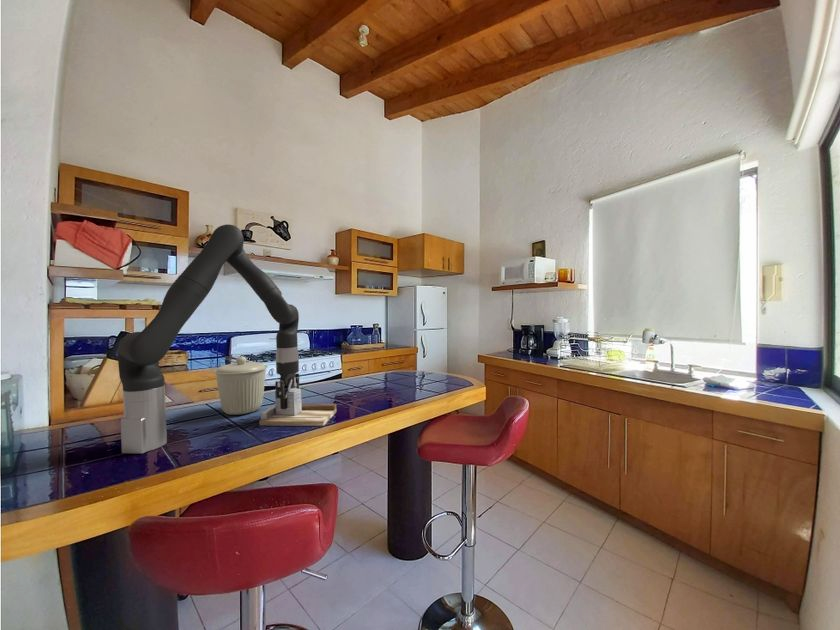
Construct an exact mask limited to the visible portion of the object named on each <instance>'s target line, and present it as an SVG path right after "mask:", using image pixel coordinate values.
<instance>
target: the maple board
mask: <svg viewBox="0 0 840 630" xmlns="http://www.w3.org/2000/svg"><path fill="white" fill-rule="evenodd" d="M336 413H337V408H336V409H335V410H302V412H300V413H299V414H297V415H295V416H294V415H280V414H275V415H273V416H272V417H270V418H269V419H267V420H261V419H260V420H259V421H258V422H259V426H263V427H264V426H267V427H268V426H269V427H270V426H275V427H276V426H277V427H278V426H280V427H281V426H283V427H284V426H285V427H286V426H287V427H288V426H289V427H290V426H292V427H294V426H296V427H299V426H300V427H301V426H304V427H305V426H306V427H307V426H309V427H314V426H315V427H324V426H325V425H326V424H327V423H328V422H329V421H330V419H331V418H333V416H334V415H335V414H336Z"/></svg>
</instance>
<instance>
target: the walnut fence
mask: <svg viewBox="0 0 840 630" xmlns="http://www.w3.org/2000/svg"><path fill="white" fill-rule="evenodd" d="M301 404H302V410H335V409H336V410H337V403H301Z"/></svg>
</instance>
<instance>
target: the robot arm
mask: <svg viewBox="0 0 840 630" xmlns="http://www.w3.org/2000/svg"><path fill="white" fill-rule="evenodd" d="M244 240H245V239H244V234H243V232H242V231H241V229H240V228H239V227H238V226H236V225H233V224H229V223H228V224H223V225H220V226H217V227H216V229H214V230H213V232H212V234H211V235H210V236H209V239H208V240H207V241H206V243H205V245H204V246H203V248H202V250H201V251H200V252H199V253H198V254H197V255H196V257H195V258H194V259H192V261H191V262H190V263H189V265H187V266H186V267H185V269H183V271H182V272H181V273H180V275H179V276H177V278H176V279H175V280H174V281H173V283H171V285H170V287H169V288H168V289H167V291H166V294H165V295H164V297H163V301H162V303H161V306H160V308H159V310H158V312H157V314H156V315H155V316H154V318H153V319H152V320H151V321H149V323H148V324H147V326H146V327H144V329H142V331H134V332H130V333H129V334H127V335H125V336H124V337H122V338H121V340H120V341H119V343H118V347H117V363H118V373H119V374H118V375H119V380H120V382H121V387H122V399H123V401H122V403H123V404H122V405H123V417H122V418H121V419H120V439H121V440H120V442H121V443H120V444H121V454H144V453H146V452H149V451H150V452H151V451H153V450H156V449H160V448H161V447H163V446H165V445H166V444H167V442H168V439H167V437H168V436H167V434H168V433H167V414H166V413H167V412H166V388H165V387H166V386H165V384H166V383H165V376H164V374H163V372H162V371H161V369H160V363H159V361H161V360H162V359H164V358H165V356H166V355H167V353H168V352H169V350H170V348H171V347H172V345H173V343H174V341H175V340H176V338H177V336H178V335H179V333H180V331H182V328H183V326H185V324H186V323H187V322H188V320H190V318H191V316H192V315H193V314H194V313H195V311H196V310H197V309H198V307H200V306H201V304H202V303H203V301H204V300H205V298H207V296H208V295H209V293H210V292H211V290H212V289H213V287H214V285H215V284H216V280H217V278H218V276H219V274H220V272H221V269H222V267H223V265H225V263H227V264H228V265H230V266H231V267H232V268H233V269H234V270H235V271H236V272H237V273H238V274H239V275H240V276H241V277H242V279H243V280H244V281H245V282H246V284H248V285H249V287H250V288H251V289H252V290H253V292H254V293H255V294H256V295H257V296H258V298H259V299H260V300H261V302H263V303H264V306H265V307H266V309H267V311H268V312H269V315H270V316H271V317H272V319H274V321H275V322H276V323H278V332H277V333H276V337H275V338H276V339H275V340H276V341H275V342H276V346H275V347H276V349H275V368H276V370H275V371H276V374H277V375H279V377H280V378H279V380H278V381H275V383H274V385H275V391H276V398H279V399H280V408H281V409H287V408H288V405H287V395H288V392H289V391H290V388H296V389H300V373H299V371H300V366H299V365H300V363H299V356H300V355H299V349H298V329H299V319H300V317H299V315H300V314H299V310H298V309H297V307H296V306H295V305H293V304H289V303H288V302H287V300H286V299H284V297H283V296H282V295H283V293H282V290H280V288H279V287H278V286H277V285H276V284H275V282H274V281H273V279H272V278H271V277H270V276H269V275H268V274H267V273H265V272H264V270H262V269H260V268H259V267H258V266H257V265H255V264H254V262H253V261H252V260H251V259H250V258H249V256H248V254H247V253H246V251H245V249H244V242H245V241H244ZM279 392H280V394H279Z"/></svg>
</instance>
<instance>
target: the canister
mask: <svg viewBox="0 0 840 630" xmlns="http://www.w3.org/2000/svg"><path fill="white" fill-rule="evenodd" d="M267 369H268V366H267V364H264V363H262V362H258V361H257V362H256V361H247V358H246V357H245V356H238V357H237V358H235V363H229V364H223V365H221V366H219V367H218V368H216V369H214V371H213V373H214V374H215V377H216V383H217V391H218V395H219V400H220V402H219V403H220V405H221V406H220V407H221V409H222V411H223V413H225V414H227V415H229V416H232V415H233V416H239V415H247V414H251V413H254V412H255V411H258V410H260V408H261V407H262V405H263V403H264V402H263V401H264V391H265V383H266V382H265V381H266V370H267Z"/></svg>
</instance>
